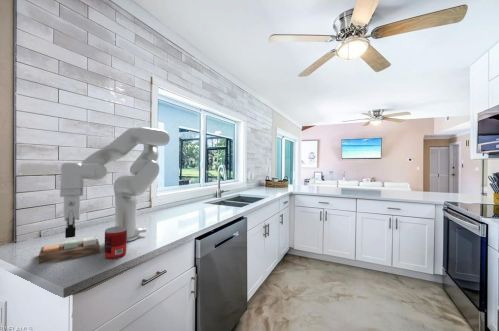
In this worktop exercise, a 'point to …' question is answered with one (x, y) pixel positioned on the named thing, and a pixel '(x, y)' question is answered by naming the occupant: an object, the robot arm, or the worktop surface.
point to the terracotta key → (51, 248)
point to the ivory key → (89, 241)
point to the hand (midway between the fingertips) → (70, 236)
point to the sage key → (71, 244)
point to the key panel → (68, 252)
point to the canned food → (115, 242)
